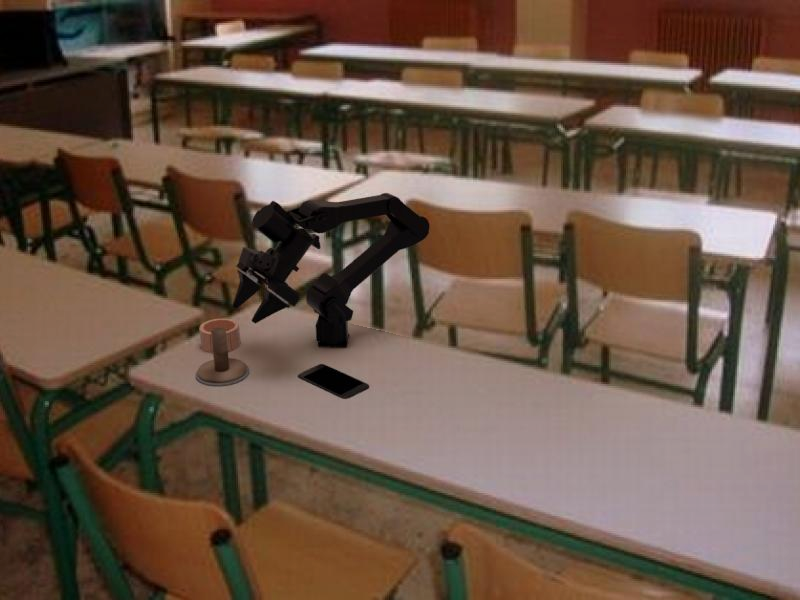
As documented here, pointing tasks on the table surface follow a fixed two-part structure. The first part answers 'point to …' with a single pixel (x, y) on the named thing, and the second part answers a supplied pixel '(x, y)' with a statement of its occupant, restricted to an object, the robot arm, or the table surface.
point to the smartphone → (333, 381)
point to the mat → (223, 383)
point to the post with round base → (221, 362)
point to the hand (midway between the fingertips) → (243, 314)
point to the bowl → (228, 324)
